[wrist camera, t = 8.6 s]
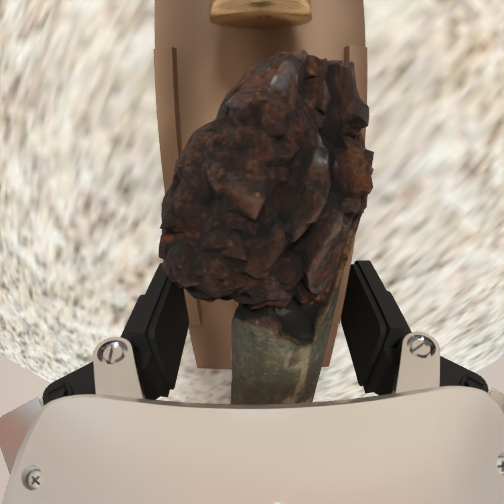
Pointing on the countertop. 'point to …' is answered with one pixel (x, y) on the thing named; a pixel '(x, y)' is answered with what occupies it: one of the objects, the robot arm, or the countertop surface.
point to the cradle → (212, 95)
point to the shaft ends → (260, 15)
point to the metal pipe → (272, 217)
